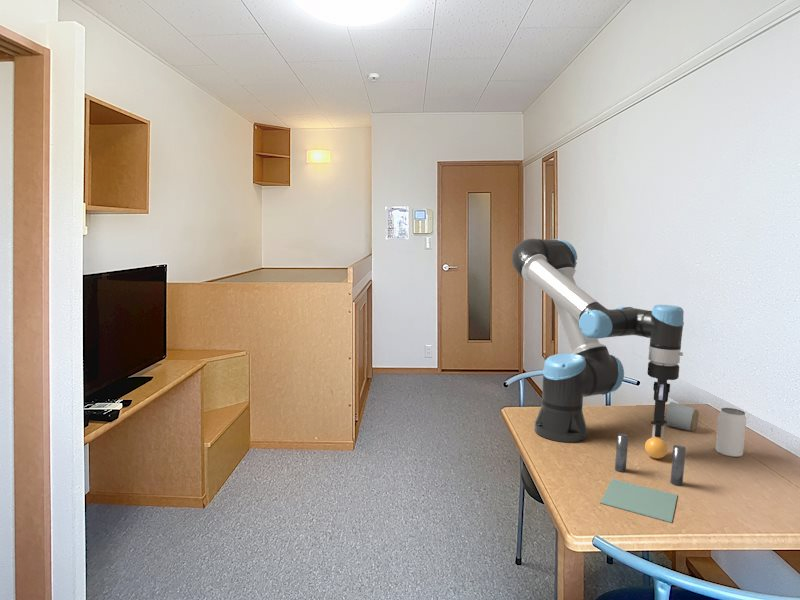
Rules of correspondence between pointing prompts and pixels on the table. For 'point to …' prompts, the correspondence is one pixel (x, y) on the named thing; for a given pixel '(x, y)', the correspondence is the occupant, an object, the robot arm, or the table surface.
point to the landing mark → (640, 500)
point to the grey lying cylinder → (681, 416)
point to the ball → (656, 447)
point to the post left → (621, 452)
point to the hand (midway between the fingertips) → (656, 446)
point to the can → (731, 432)
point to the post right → (678, 465)
